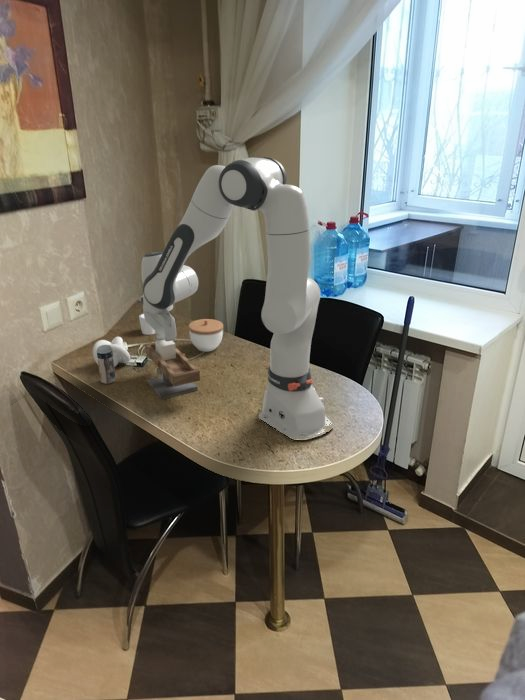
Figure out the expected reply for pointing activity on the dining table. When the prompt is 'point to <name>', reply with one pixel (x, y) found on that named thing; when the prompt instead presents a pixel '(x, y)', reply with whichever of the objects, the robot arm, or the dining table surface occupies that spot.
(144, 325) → the shot glass
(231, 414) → the dining table surface
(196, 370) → the brown wooden tray
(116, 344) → the white knot sculpture
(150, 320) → the robot arm
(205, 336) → the lidded bowl
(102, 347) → the beer can
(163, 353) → the white block
